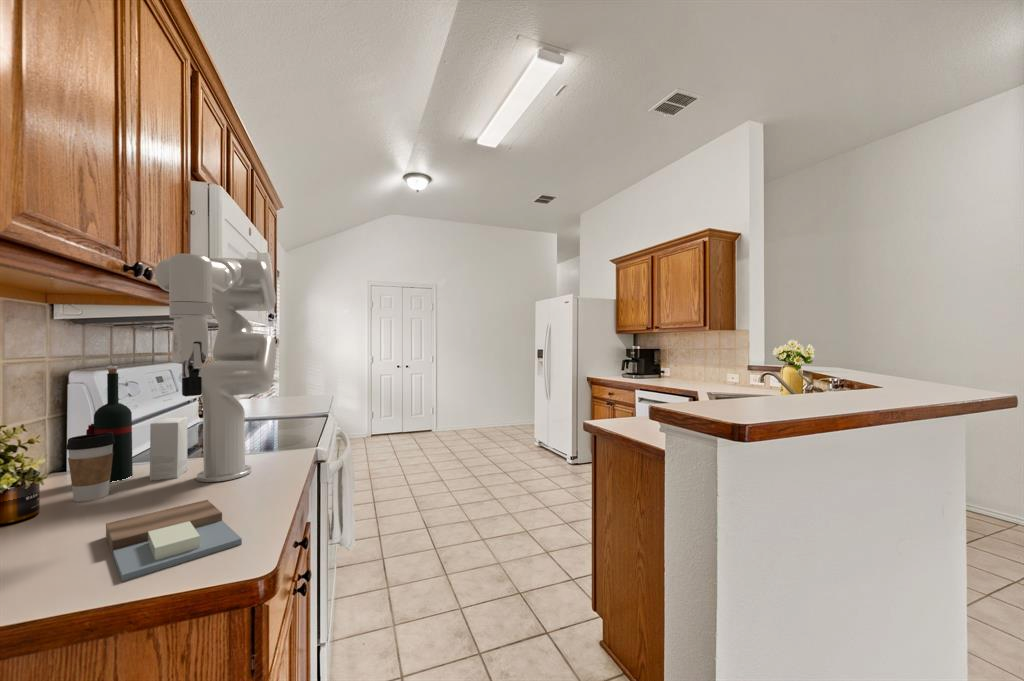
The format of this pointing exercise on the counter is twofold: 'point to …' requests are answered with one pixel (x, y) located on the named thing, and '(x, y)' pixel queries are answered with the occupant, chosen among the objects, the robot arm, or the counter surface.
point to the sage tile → (173, 540)
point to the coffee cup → (90, 465)
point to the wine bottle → (115, 429)
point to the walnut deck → (159, 523)
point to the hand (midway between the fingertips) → (191, 395)
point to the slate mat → (142, 562)
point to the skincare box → (168, 448)
